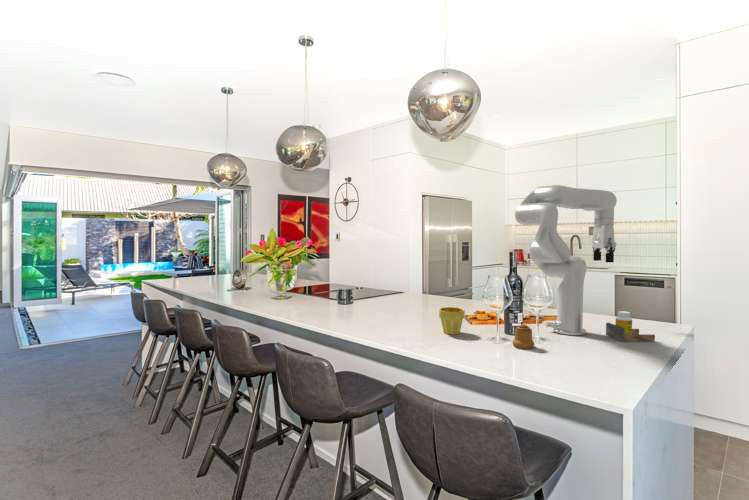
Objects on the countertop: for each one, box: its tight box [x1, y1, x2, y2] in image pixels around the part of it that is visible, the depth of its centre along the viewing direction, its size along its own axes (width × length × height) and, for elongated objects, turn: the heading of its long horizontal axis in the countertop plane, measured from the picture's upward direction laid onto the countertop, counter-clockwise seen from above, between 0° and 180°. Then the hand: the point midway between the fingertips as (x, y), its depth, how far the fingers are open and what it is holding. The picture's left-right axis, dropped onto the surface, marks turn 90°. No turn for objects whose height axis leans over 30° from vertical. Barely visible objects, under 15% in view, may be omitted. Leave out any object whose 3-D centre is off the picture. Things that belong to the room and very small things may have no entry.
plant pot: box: [438, 306, 466, 336], centre depth 171 cm, size 10×10×10 cm
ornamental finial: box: [511, 323, 535, 350], centre depth 150 cm, size 8×8×8 cm
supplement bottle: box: [615, 310, 633, 335], centre depth 161 cm, size 6×6×10 cm
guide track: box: [605, 322, 656, 343], centre depth 161 cm, size 13×10×5 cm
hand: (603, 261), depth 182 cm, fingers open, 9 cm apart
